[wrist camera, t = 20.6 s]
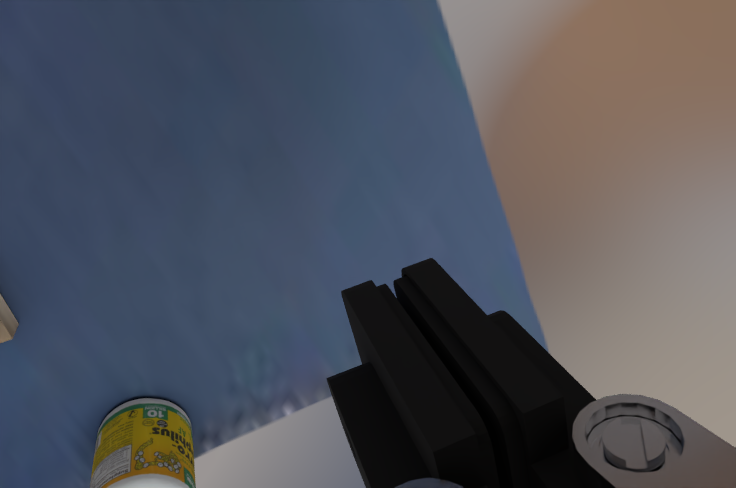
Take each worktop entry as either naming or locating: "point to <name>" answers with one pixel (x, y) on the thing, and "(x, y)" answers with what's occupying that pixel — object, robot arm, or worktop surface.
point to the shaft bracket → (6, 322)
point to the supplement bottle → (144, 447)
